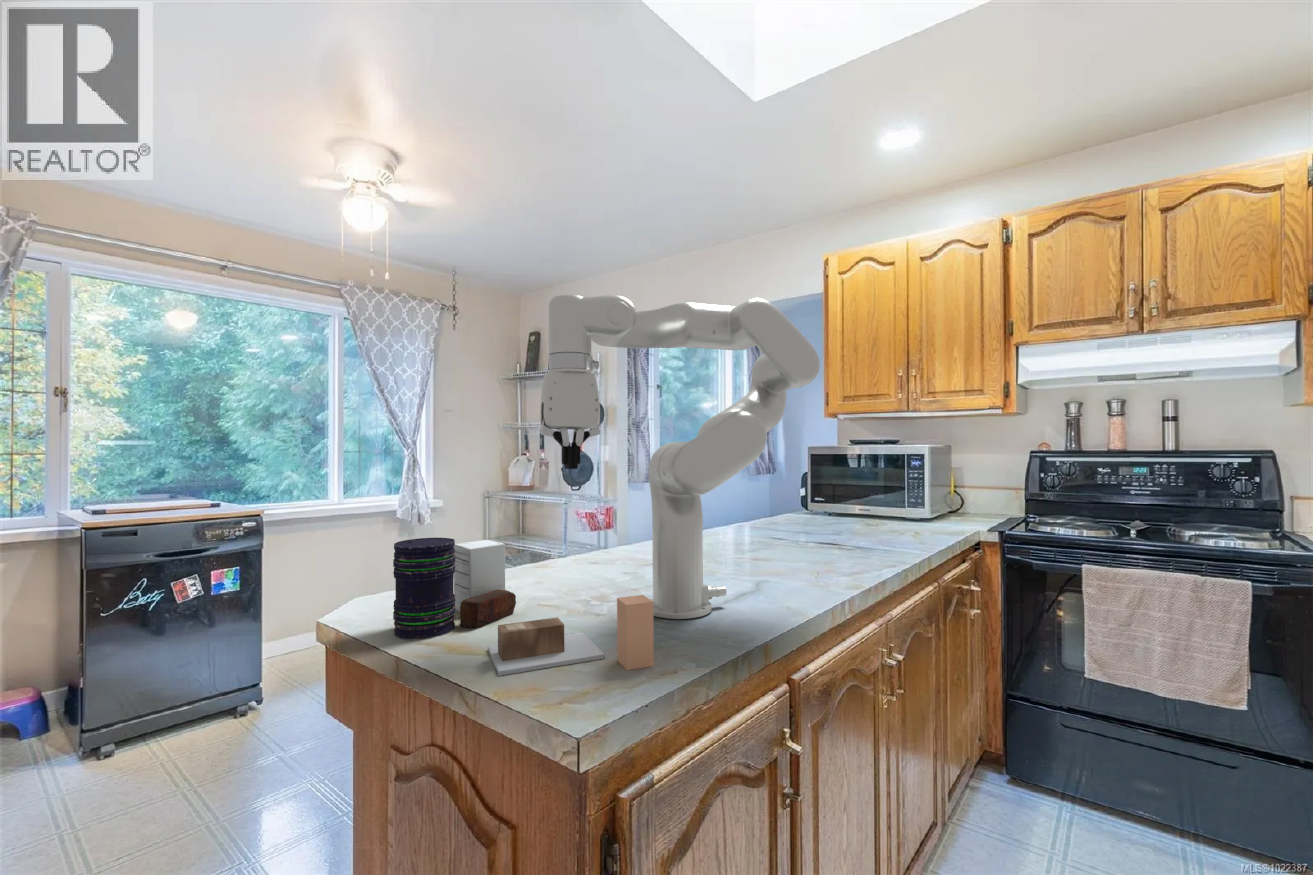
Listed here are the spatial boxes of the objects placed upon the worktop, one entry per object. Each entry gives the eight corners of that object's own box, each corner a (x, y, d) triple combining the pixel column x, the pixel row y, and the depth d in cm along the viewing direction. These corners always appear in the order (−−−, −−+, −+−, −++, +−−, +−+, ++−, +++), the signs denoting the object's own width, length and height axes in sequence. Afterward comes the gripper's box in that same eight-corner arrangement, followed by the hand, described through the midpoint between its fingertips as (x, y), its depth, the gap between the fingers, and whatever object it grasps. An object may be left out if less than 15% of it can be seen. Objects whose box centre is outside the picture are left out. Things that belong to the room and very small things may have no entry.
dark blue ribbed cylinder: (467, 623, 101) (466, 538, 101) (433, 641, 91) (433, 548, 92) (417, 619, 103) (417, 536, 103) (379, 637, 94) (379, 546, 94)
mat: (582, 635, 93) (582, 632, 93) (604, 658, 83) (604, 654, 83) (488, 649, 87) (487, 645, 87) (498, 675, 77) (498, 671, 77)
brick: (477, 630, 97) (477, 602, 97) (459, 627, 99) (459, 600, 99) (516, 614, 107) (516, 588, 107) (499, 611, 109) (499, 586, 109)
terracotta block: (643, 656, 84) (642, 594, 84) (653, 665, 81) (653, 601, 81) (617, 660, 83) (617, 598, 83) (627, 670, 79) (626, 604, 79)
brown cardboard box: (557, 617, 88) (497, 624, 85) (564, 624, 85) (502, 632, 81) (557, 643, 88) (497, 652, 85) (564, 651, 85) (502, 661, 81)
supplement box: (488, 601, 115) (488, 538, 115) (506, 609, 109) (506, 543, 110) (452, 609, 110) (452, 543, 110) (469, 617, 104) (469, 548, 104)
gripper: (603, 370, 109) (604, 467, 108) (524, 366, 103) (524, 469, 102) (616, 365, 102) (617, 468, 101) (532, 360, 96) (533, 470, 95)
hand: (571, 468), depth 102 cm, fingers closed
